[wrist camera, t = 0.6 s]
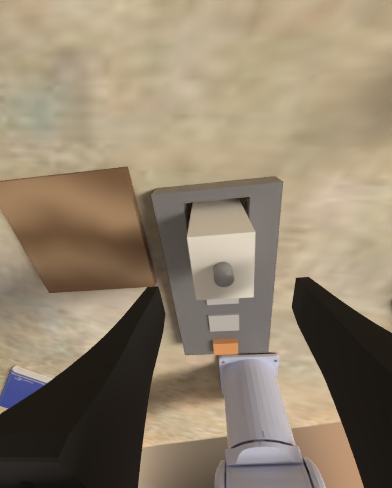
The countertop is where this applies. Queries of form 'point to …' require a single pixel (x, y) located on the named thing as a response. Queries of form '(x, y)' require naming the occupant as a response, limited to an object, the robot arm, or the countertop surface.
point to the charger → (221, 250)
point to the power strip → (180, 273)
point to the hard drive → (21, 386)
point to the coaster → (80, 229)
